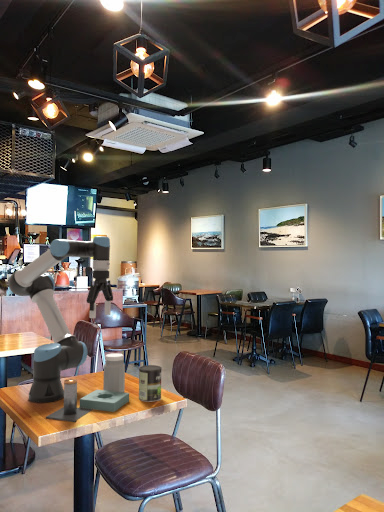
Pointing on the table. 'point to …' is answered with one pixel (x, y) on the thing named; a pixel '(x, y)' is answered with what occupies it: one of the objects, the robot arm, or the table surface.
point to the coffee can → (150, 383)
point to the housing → (104, 400)
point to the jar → (114, 373)
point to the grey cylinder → (70, 396)
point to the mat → (71, 418)
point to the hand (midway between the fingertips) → (100, 316)
